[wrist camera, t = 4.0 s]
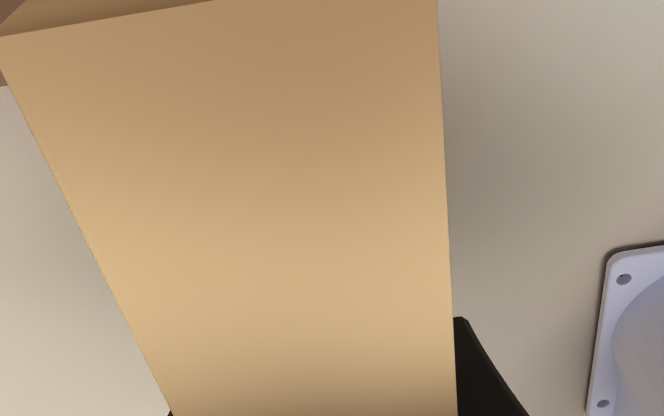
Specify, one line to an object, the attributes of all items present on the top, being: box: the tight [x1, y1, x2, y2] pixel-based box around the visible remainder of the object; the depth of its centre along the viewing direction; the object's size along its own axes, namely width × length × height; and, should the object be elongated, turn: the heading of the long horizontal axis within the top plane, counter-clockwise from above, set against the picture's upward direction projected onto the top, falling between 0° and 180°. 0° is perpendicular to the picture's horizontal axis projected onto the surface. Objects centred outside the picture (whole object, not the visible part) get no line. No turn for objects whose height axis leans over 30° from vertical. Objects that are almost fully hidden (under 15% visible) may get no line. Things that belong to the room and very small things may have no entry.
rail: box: [0, 0, 458, 416], centre depth 11 cm, size 14×3×6 cm, turn 9°
